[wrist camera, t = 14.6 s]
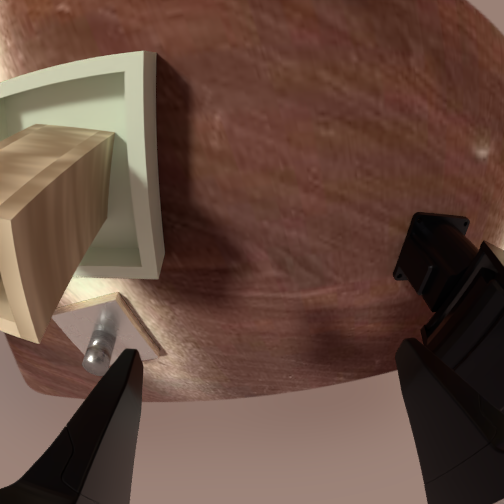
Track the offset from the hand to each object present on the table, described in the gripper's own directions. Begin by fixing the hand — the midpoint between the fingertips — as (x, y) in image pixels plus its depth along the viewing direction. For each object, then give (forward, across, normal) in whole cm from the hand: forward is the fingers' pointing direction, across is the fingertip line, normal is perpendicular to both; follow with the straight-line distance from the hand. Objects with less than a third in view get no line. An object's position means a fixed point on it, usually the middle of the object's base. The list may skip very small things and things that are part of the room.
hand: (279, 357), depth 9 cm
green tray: (+13, +12, -2) cm, 18 cm away
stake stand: (+13, +13, +14) cm, 23 cm away
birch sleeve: (+12, +12, -2) cm, 17 cm away
